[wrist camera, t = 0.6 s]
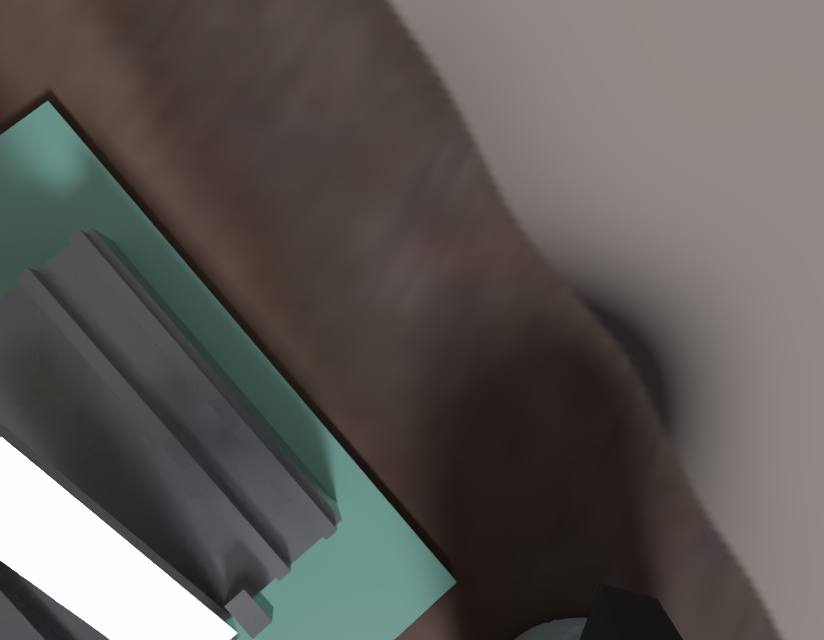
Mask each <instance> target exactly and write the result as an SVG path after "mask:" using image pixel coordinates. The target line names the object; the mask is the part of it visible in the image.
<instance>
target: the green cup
mask: <svg viewBox="0 0 824 640" xmlns="http://www.w3.org/2000/svg"><path fill="white" fill-rule="evenodd" d="M586 621H587V618H567V619H562V620H553V621H551V622H550V623H542V624H540V625H538V626H534V627H533V628H531V629H529V630H527V631H526V632H524V633H522V634H521V635H519V636H518V637H517V638H516V639H514V640H580V637H581V634H582V632H583V629H584V626H585V623H586Z"/></svg>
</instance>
